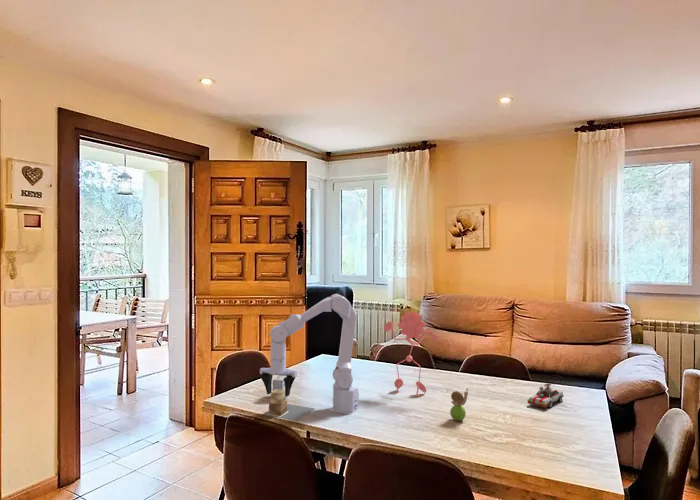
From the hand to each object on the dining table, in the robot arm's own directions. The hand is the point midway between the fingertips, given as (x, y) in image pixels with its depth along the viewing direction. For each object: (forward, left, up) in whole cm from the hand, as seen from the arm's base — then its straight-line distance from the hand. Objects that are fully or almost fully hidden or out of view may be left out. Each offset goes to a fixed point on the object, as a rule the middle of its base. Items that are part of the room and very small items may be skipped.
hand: (278, 394), depth 170 cm
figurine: (-38, -48, -8) cm, 62 cm away
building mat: (-3, -3, -7) cm, 8 cm away
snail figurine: (-63, -21, -8) cm, 67 cm away
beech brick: (0, 0, -3) cm, 3 cm away
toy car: (-91, -54, -8) cm, 107 cm away
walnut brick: (0, 0, -7) cm, 7 cm away
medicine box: (+9, -16, -8) cm, 20 cm away
